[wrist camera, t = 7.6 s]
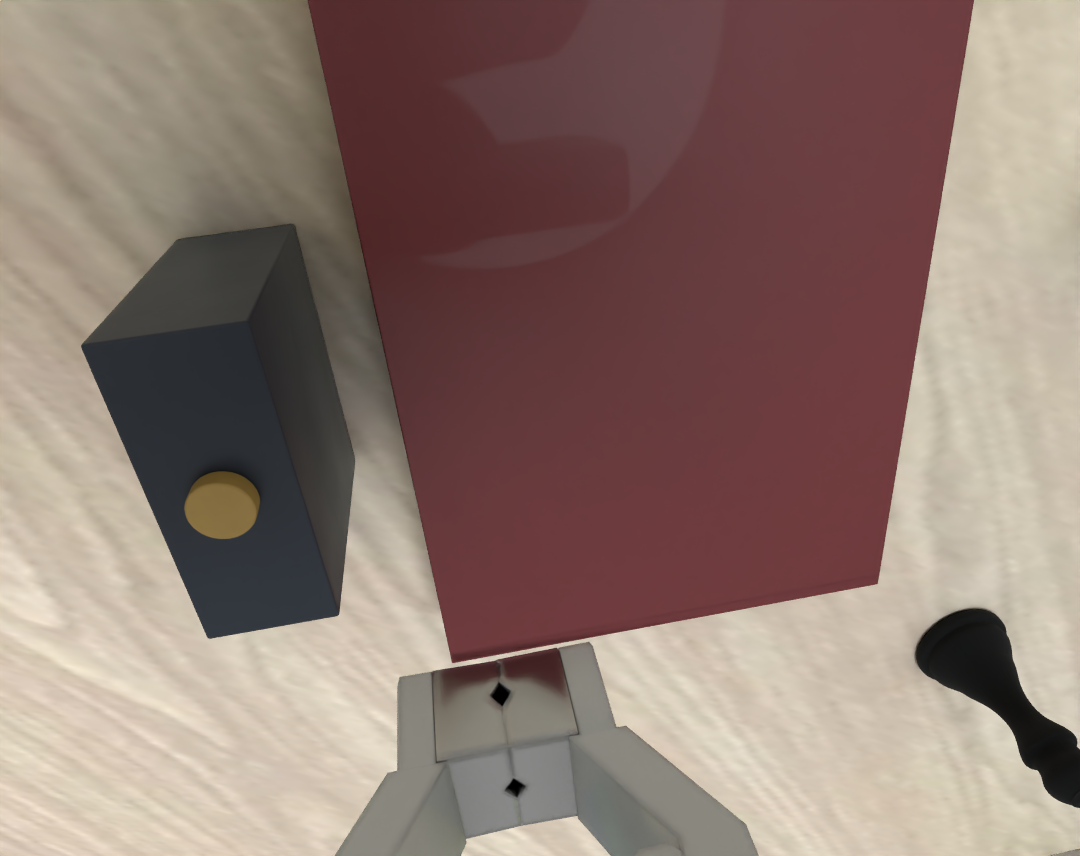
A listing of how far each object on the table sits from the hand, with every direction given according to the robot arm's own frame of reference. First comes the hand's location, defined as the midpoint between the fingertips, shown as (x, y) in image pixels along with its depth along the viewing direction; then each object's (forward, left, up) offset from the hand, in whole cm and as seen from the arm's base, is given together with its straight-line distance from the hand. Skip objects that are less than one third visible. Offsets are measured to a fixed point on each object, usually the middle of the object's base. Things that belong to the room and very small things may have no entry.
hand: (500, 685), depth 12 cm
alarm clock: (+1, -6, -12) cm, 13 cm away
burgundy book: (+1, +7, -16) cm, 17 cm away
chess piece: (+21, +22, -16) cm, 34 cm away
